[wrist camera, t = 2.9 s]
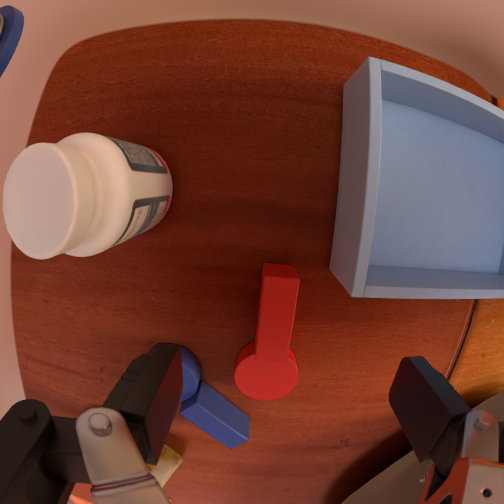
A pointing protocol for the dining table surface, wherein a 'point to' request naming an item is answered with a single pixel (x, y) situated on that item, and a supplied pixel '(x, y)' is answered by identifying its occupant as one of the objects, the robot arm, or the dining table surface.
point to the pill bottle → (83, 195)
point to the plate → (410, 472)
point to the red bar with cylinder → (271, 338)
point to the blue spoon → (210, 406)
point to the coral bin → (83, 494)
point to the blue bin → (418, 189)
